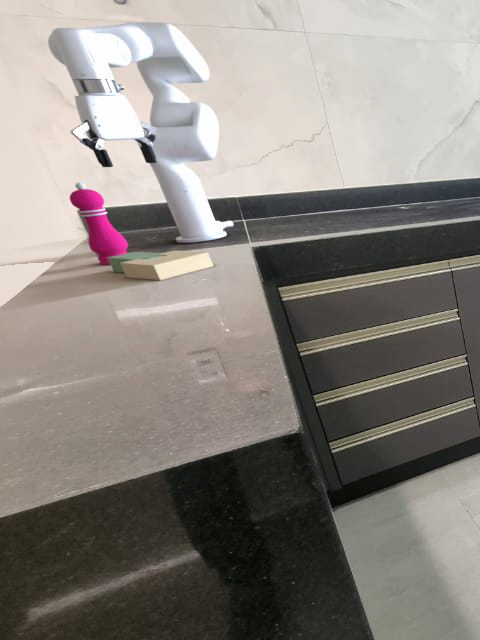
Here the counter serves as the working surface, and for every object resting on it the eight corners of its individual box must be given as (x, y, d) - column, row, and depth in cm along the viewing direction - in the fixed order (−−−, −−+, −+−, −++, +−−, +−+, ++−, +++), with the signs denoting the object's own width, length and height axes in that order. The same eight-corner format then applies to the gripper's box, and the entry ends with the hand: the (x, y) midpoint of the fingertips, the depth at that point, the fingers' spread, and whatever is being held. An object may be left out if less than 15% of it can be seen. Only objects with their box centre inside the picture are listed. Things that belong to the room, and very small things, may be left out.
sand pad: (180, 263, 134) (175, 250, 133) (213, 266, 130) (207, 252, 129) (126, 277, 124) (119, 262, 122) (160, 280, 120) (153, 265, 119)
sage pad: (141, 265, 135) (135, 251, 133) (175, 267, 131) (169, 253, 129) (113, 271, 130) (107, 257, 128) (148, 274, 125) (141, 260, 124)
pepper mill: (112, 265, 135) (73, 184, 127) (91, 265, 137) (50, 185, 128) (141, 258, 142) (106, 180, 133) (120, 258, 143) (84, 181, 134)
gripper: (129, 90, 135) (158, 161, 142) (41, 89, 120) (79, 168, 127) (148, 88, 132) (177, 161, 140) (61, 87, 118) (99, 168, 125)
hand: (130, 164), depth 133 cm, fingers open, 9 cm apart
